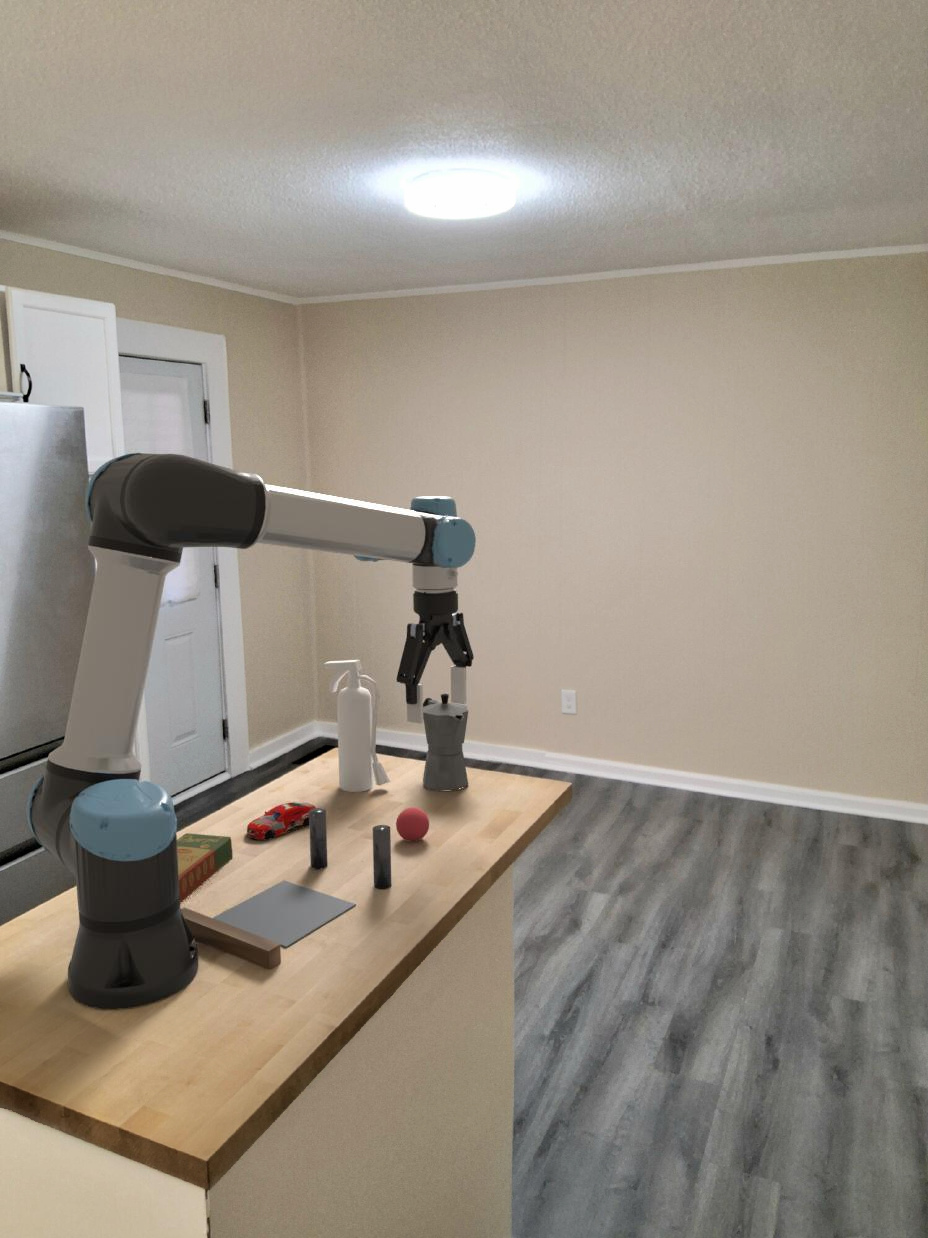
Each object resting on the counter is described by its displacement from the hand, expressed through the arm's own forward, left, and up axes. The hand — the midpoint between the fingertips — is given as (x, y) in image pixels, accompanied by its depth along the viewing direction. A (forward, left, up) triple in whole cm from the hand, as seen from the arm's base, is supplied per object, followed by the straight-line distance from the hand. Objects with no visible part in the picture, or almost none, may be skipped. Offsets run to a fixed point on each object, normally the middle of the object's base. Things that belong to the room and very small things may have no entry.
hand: (437, 712), depth 161 cm
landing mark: (-39, -1, -20) cm, 44 cm away
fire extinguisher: (+6, +23, -20) cm, 31 cm away
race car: (-17, +21, -20) cm, 34 cm away
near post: (-25, -7, -20) cm, 33 cm away
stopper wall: (-50, -1, -20) cm, 54 cm away
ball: (-9, -1, -17) cm, 19 cm away
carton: (-39, +20, -20) cm, 48 cm away
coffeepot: (+17, +11, -20) cm, 28 cm away
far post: (-25, +5, -20) cm, 32 cm away
